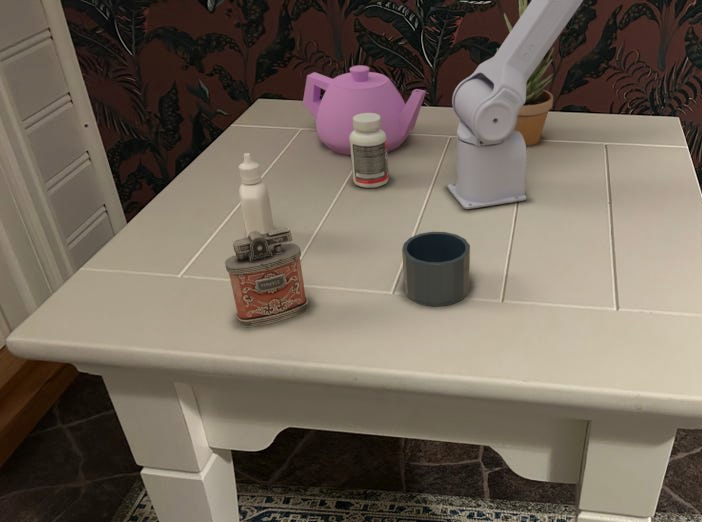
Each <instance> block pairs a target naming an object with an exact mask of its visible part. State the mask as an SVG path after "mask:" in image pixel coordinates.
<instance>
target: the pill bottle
mask: <svg viewBox="0 0 702 522" xmlns="http://www.w3.org/2000/svg"><path fill="white" fill-rule="evenodd" d="M380 127H381V117H380V115H378V114H375V113H361V114H357V115H355V116H354V117H353V128H354V129H355V130H354V131H353V132H351V134H350V137H349V141H350V152H351V155H350V160H351V161H350V162H351V173H352V180H353V184H355V186H358V187H361V188H365V189H373V188H380V187H382V186H384V185H386V184H387V183H388V182H389V178H390V177H389V161H388V152H387V138H386V134H385V132H384V131H383V130H381V129H380Z"/></svg>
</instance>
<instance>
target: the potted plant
mask: <svg viewBox="0 0 702 522" xmlns="http://www.w3.org/2000/svg"><path fill="white" fill-rule="evenodd" d="M527 7H528V0H518V16H519V18H520V17H521V16H522V14H523V13H524V11H525V10H526V8H527ZM503 17H504V20H505V24H506V26H507V29H508V32H509V33H510V32H511V30H512V29H513V26H512V24H511V22H510V19H509V18H508V16H507V14H506V13H505V12H504V13H503ZM554 49H555V46H552V47H551V49H550V51H549V53H548V55H547V56H546V58H545V56H544V57H543V59H542V60H541V62H540V63H539V64H538V66H537V67H536V69H535V70H534V72H533V73H532V74H531V76H530V77H529V79H528V80H527V83H526V101H525V103H524V104H523V106H522V107H521V109H520V111H519V113H518V116H517V121H516V125H515V128H514V129H513V131H519V132H520V133H521V134H522V136H523V138H524V141H525V144H526V147H529V146H533V145H534V146H535V145H536V144H538V143H539V142H540V140H541V136H542V133H543V129H544V126H545V123H546V120H547V117H548V114H549V112H550V110H551V109H552V108H553V102H554V95H553V94H552V93H551V92H550V91H549V90H548V91H547V90H545V89H544V88H545V87H546V86H547V85H549V83H551V81H553V78H552V76H554V73H551V74H549V75H548V76H547V77H545V78H544V79H542V77H543V76H544V74H545V73H546V71H547V70H548V68H549V67H550V65H551V64H552V62H553V60H554V58H551V56H552V54H553V53H554ZM498 50H499V48H498V47H497V48H496V52H497V51H498ZM544 58H545V59H544ZM543 60H544V61H543ZM541 79H542V80H541Z"/></svg>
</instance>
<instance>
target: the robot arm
mask: <svg viewBox="0 0 702 522" xmlns="http://www.w3.org/2000/svg"><path fill="white" fill-rule="evenodd" d="M583 1H584V0H530V2H529V3H528V4H527V8H526V10H525V11H524V13H523V14H522V16H521V17H520V16H519V18H518V19H517V22H515V24H514V26H512V28H513V29H512V30H511V32H509V33H508V35H507V36H506V38H505V39H504V41H503V42H502V44H501V45H500V47H499V48H498V49H499V50H498V51H497V50H496V52H495V54H494V56H492V57H490V58H488V59H487V60H485V61H483V62H481V63H480V64H479V65H478V66H477V67H476V69H475V70H474V71H473V73H472V74H470V75H469V76H467V77H466V78H465V79H463V80H461V81H460V82H459V83H458V85H457V86H456V87H455V89H454V91H453V92H452V97H451V105H452V109H453V112H454V114H455V115H456V117H457V118H458V119H459V124H458V128H457V129H456V182H453V183H449V184H447V189H448V190H449V191H450V193H451V195H452V196H453V197H454V198H455V199H456V201H457V202H458V203H459V204H460V205H461V207H462V208H463V209H464V210H473V209H479V208H484V207H485V208H486V207H493V206H497V205H503V204H511V203H516V202H517V203H518V202H523V201H527V195H525V194H526V193H525V191H526V177H527V164H528V163H527V161H528V152H527V146H526V144H525V141H524V138H523V136H522V134H521V133H520V132H519V131H513V129H514V128H515V125H516V121H517V116H518V113H519V111H520V109H521V107H522V106H523V104H524V103H525V101H526V83H527V80H528V79H529V77H530V76H531V74H532V73H533V72H534V70H535V69H536V67H537V66H538V64H539V63H540V62H541V60H542V59H543V60H544V58H545V56H546V54H547V53H548V52H549V50H551V49H550V48H552V47H553V44H554V43H555V41H556V40H557V39H558V37H559V36H560V35H561V33H562V31H563V30H564V29H565V27H566V26H567V25H568V23H569V22H570V20H571V19H572V17H573V16H574V15H575V14H576V12H577V10H578V9H579V8H580V6H581V4H582V3H583ZM543 57H544V58H543ZM543 60H542V61H543ZM541 63H542V62H541Z"/></svg>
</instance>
